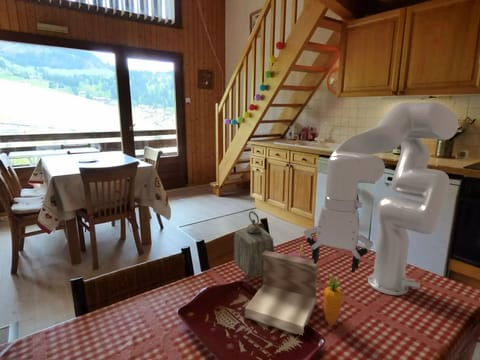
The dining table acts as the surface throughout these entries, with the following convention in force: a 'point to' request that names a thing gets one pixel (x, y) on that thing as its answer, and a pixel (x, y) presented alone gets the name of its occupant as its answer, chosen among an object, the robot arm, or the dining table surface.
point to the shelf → (285, 293)
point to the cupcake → (298, 254)
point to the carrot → (332, 301)
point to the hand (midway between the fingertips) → (334, 265)
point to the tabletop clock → (251, 248)
